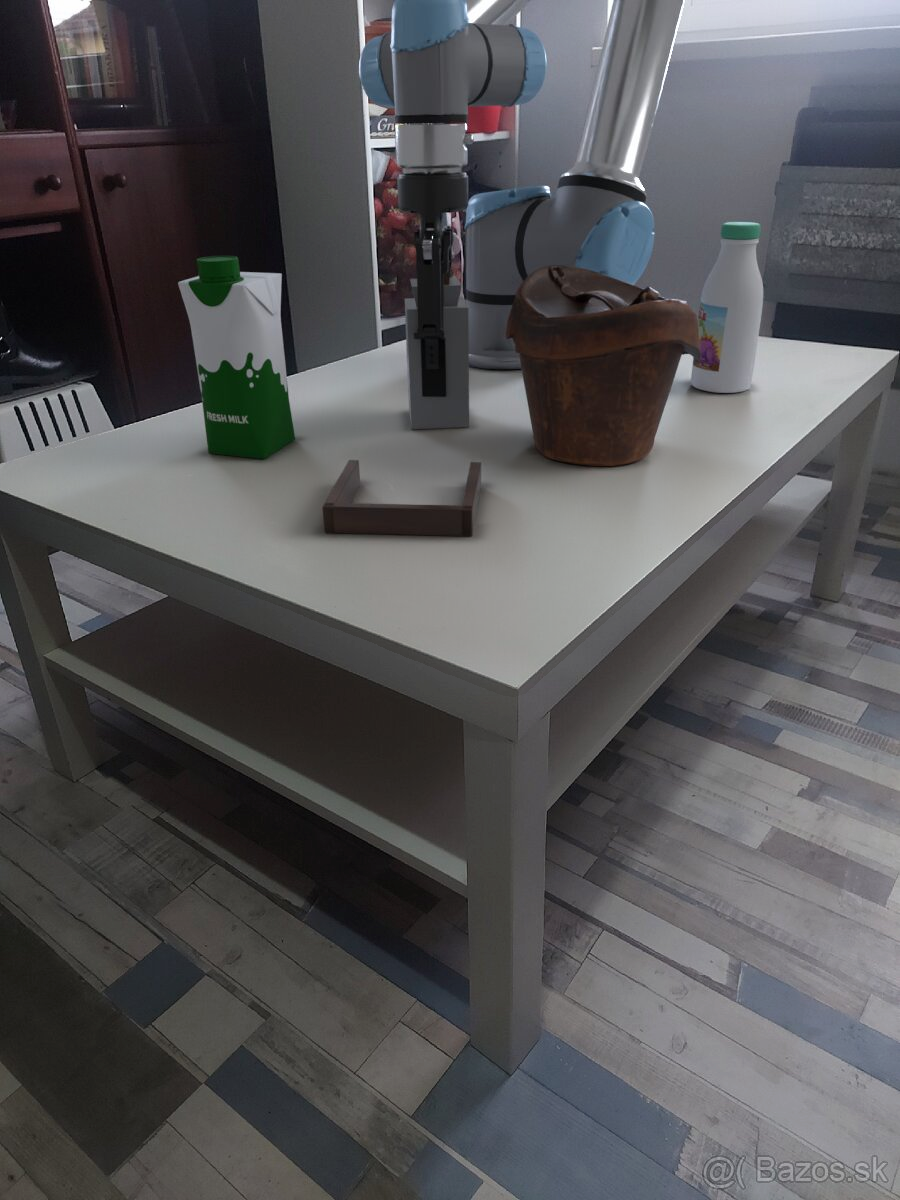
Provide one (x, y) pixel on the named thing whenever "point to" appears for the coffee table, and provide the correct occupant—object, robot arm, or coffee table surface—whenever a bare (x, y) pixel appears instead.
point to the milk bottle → (730, 313)
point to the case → (597, 362)
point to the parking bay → (399, 510)
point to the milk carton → (239, 357)
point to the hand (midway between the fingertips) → (437, 387)
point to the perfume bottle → (456, 334)
